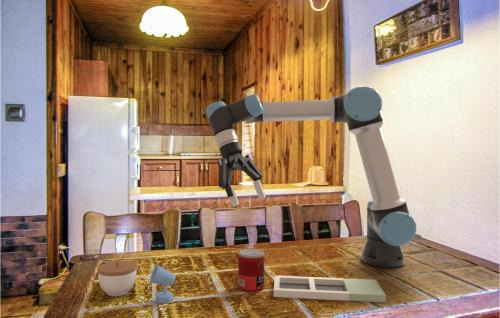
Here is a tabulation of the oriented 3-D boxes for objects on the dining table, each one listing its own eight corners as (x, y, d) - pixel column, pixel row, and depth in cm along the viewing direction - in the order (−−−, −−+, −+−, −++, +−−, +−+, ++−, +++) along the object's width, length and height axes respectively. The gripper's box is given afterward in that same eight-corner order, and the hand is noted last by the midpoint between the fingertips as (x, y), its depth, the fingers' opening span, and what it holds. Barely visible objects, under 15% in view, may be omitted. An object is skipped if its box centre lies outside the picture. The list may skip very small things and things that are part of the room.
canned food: (262, 294, 107) (262, 256, 107) (235, 291, 109) (235, 254, 108) (266, 284, 115) (266, 249, 114) (241, 282, 116) (241, 247, 116)
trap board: (375, 286, 114) (375, 279, 114) (385, 302, 102) (385, 295, 102) (275, 281, 117) (275, 275, 117) (273, 296, 105) (273, 290, 105)
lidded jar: (144, 288, 111) (144, 257, 111) (120, 302, 101) (120, 268, 101) (115, 283, 115) (114, 253, 114) (89, 296, 104) (89, 263, 104)
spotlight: (151, 305, 99) (176, 302, 101) (150, 268, 98) (176, 266, 101) (149, 298, 103) (173, 295, 106) (149, 263, 103) (173, 260, 105)
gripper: (245, 146, 140) (265, 198, 136) (195, 151, 122) (216, 212, 118) (259, 138, 135) (279, 192, 132) (208, 142, 117) (231, 205, 113)
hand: (249, 202), depth 125 cm, fingers open, 13 cm apart
